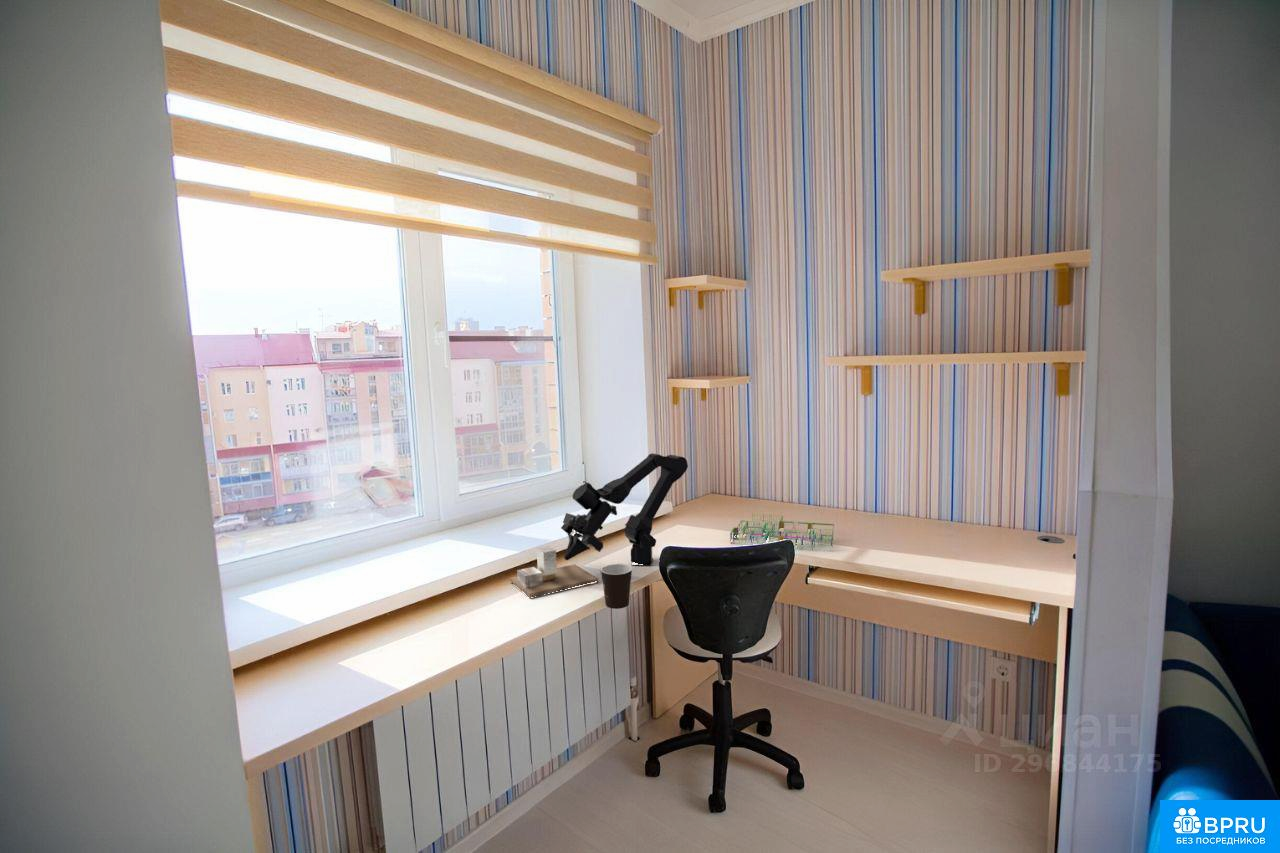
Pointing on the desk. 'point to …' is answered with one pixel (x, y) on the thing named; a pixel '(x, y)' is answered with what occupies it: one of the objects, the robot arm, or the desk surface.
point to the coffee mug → (616, 585)
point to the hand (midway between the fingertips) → (565, 559)
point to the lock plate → (565, 579)
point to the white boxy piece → (547, 562)
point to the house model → (781, 525)
